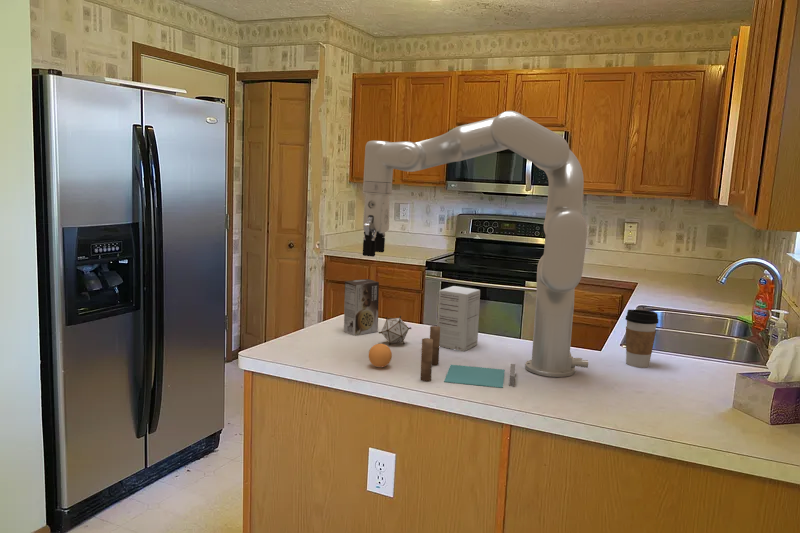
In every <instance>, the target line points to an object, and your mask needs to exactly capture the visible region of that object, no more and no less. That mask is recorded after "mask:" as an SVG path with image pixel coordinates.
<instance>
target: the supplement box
mask: <svg viewBox="0 0 800 533" xmlns="http://www.w3.org/2000/svg"><path fill="white" fill-rule="evenodd" d="M480 298H481V289H477V288H471V287H465V286H458V285H457V286H456V285H452V286H449V287H445V288H443V289H440V290H438V302H437V304H438V306H437V326H439V327H440V344H439V346H441V348H444V347H445V349H449V348H450V350H454V349H455V350H456V351H460V352H466V351H468V350H469V349H471V348H473V347H475V346H476V345H478V337H479V321H480V320H479V318H480V306H481V305H480V302H481V299H480Z"/></svg>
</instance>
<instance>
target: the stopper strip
mask: <svg viewBox="0 0 800 533" xmlns="http://www.w3.org/2000/svg"><path fill="white" fill-rule="evenodd" d="M515 377H516V363H510V367H509V380H508V381H509V383H508V386H509V387H515Z"/></svg>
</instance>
